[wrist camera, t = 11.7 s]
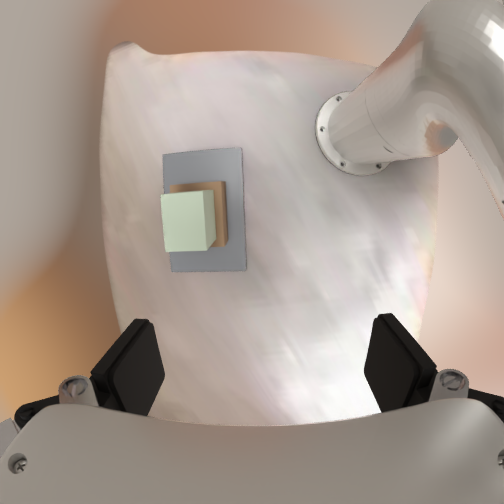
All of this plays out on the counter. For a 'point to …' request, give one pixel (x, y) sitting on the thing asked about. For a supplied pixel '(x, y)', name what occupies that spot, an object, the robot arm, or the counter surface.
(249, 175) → the counter surface
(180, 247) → the sage block
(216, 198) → the walnut base block
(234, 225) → the slate baseplate
